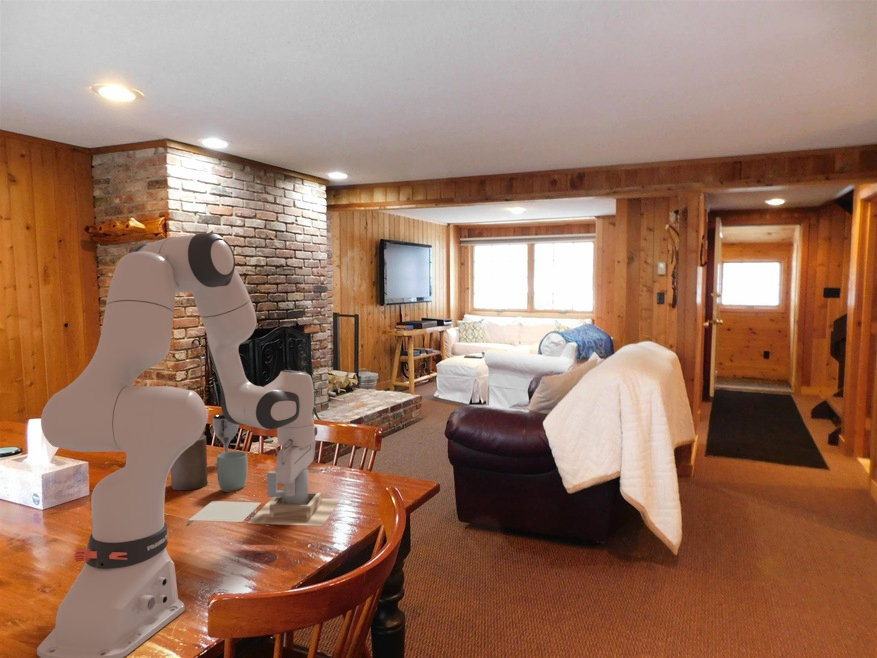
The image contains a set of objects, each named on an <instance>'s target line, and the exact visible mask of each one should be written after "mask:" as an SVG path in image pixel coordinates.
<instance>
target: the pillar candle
mask: <svg viewBox="0 0 877 658" xmlns="http://www.w3.org/2000/svg"><path fill="white" fill-rule="evenodd" d="M207 451H208V450H207V435H205V434H202V435H201V436H200V438H199V439H198V440H197V441H196V442H195V443H194V444H193V445H192V446H190V447H189V448H187V449H186V450H185V451H184V452H183V453H182V454H181V455H180V456H179V457H178V459H177V460H176V461H175V463H174V464H173V466H172V468H171V470H170V482H171V483H170V486H171V488H172V489H173V490H175V491H191V490H196V489H201V488H203V487H206V486H207V485H208V484H209V482H208V461H207V460H208V454H207Z"/></svg>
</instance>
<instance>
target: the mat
mask: <svg viewBox="0 0 877 658" xmlns="http://www.w3.org/2000/svg"><path fill="white" fill-rule="evenodd" d="M261 504H262V502H258V501H257V502H256V501H255V502H253V501H251V502H250V501H226V500H225V501H224V500H222V501H220V500H212V501H210V502H209V503H208V504H206V505H205V506H204V507H203V508H202V509H200V510H199V511H197V513H195V514H194V515H193V516H192V517H190V518H189V519H188V520H187V525H191V524H192V523H193V522H195V521H197V522H199V521H200V522H226V523H227V522H228V523H243V522H244V521H245V520H246V518H247V517H248V516H250V515H251V514H252V513H253V512H254V511H255V510H256V509H257V508H258V507H259V506H260V505H261Z"/></svg>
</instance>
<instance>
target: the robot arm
mask: <svg viewBox="0 0 877 658" xmlns="http://www.w3.org/2000/svg"><path fill="white" fill-rule="evenodd" d="M235 258H236V257H235V253H234V251H233V249H232V247H231V245H230V244H229V242H228V241H227V240H225V238H224V237H222V236H221V235H219V234H217V233H211V232H210V233H209V232H199V233H197V234H192V235H191V234H190V235H181V236H171V237H167V238H163V239H160V240H155V241H154V242H148V243H147V242H146V243H143V244H141V245H139V246H137V247H135V248H133V249H132V250H131V251H130V252H129V253H127V254H125V255H123V256H122V257H121V258H120V259H119V261H118V263H117V264H116V266H115V267H116V268H115V269H114V272H113V276H112V278H111V282H110V285H109V288H108V292H107V297H106V304H105V308H104V309H105V310H104V316H103V322H102V327H101V331H100V335H99V336H100V337H99V340H98V344H97V347H96V350H95V352H94V354H93V356H92V358H91V360H90V362H89V363H88V365H87V366H86V367H85V368H84V370H83V371H82V373H80V374H79V376H78V377H77V378H75V380H73V381H72V382H71V383H70V384H69V385H66V387H64V388H62V389H61V390H59V391H57V392H55V393H54V394H53V395H52V396H51V397H50V398H49V399H48V401H47V402H46V404H45V406H44V408H43V410H42V412H41V419H40V426H41V430H42V434H43V436H44V438H45V439H46V441H47V442H48V443H49V444H50V445H51V447H55V448H58V449H64V450H67V451H73V452H79V453H93V452H95V453H100V452H101V453H102V452H103V453H104V452H105V453H106V452H108V453H109V452H111V453H112V452H123V453H126V461H125V462H126V463H125V466H124V467H122V468H120V469H119V468H118V469H117V470H116V471H114V472H112V473H111V472H110V474H108V475H106V476H105V477H103V478H102V479H101V480H100V481H98V482H97V484H96V485H95V486H94V489H93V490H92V493H91V497H90V498H91V500H90V501H91V534H90V536H89V538H88V543H87V546H86V548H81V547H80V548H77V549H76V550H75V553H74V556H73V558H74V559H73V560H74V561H75V562H79V563H80V562H84V565H83V567H82V569H81V570H80V572H79V574H78V575H77V576H76V578H75V580H74V582H73V584H71V586H70V588H69V590H68V591H67V593H66V595H65V596H64V598H63V600H62V601H61V603H60V604H59V607H58V608H57V610H56V617H55V618H56V619H55V627H54V628H53V629H52V631H51V632H50V633H49V634H47V636H46V638H44V639H43V641H42V642H41V643H40V644H39V645H38V647H37V648H36V655H37V656H38V657H39V658H125V657H127V655H129V654H130V653H132V652H133V651H134V650H135V649H137V648H138V647H139V646H141V645H142V644H143V643H144V642H146V641H147V640H148V639H149V638H151V637H152V636H154V635H155V634H157V633H158V632H159V631H160V630H161V629H163V628H164V627H166V626H167V625H168V624H169V623H171V622H172V621H173V620H175V619H176V618H177V617H178V616H180V615H181V614H182V613H183V612H184V611H186V607H185V603H184V601H182V600H180V599H179V594H178V588H177V586H178V585H177V576H176V567H175V563H174V561H173V560H172V558H171V556H170V555H169V553H168V550H167V547H168V542H169V540H168V539H169V530H168V524H167V522H166V521H165V499H166V498H165V497H166V486H167V480H168V477H169V476H170V475H169V474H170V473H171V468H172V466H173V464H174V463H175V461H176V460H177V459H178V457H179V456H180V455H181V454H182V453H183V452H184V451H185V450H186V449H187V448H189V447H190V446H192V445H193V444H194V443H195V442H196V441H197V440H198V439H199V438H200V436H201V435H203V433H204V431H205V428H206V425H207V421H208V415H207V414H208V411H207V408H206V405H205V403H204V400H203V399H202V397H201V396H200V395H199V394H198V393H197V392H196V391H194V390H192V389H186V388H181V387H175V386H169V385H158V386H157V385H155V386H153V385H150V386H149V385H145V386H144V385H143V386H141V385H139V386H134V383H135V381H136V380H137V379H138V377H140V375H141V374H143V372H145V371H147V370H148V369H152V367H155V366H157V365H159V364H160V363H161V362H163V361H164V360H165V359H166V358H167V356H168V354H169V353H170V351H171V344H172V343H171V341H172V333H173V325H174V315H175V301H176V299H175V298H176V297H175V296H176V295H175V294H178V293H179V294H181V293H182V294H183V293H184V294H185V293H186V294H187V293H191V294H192V296H193V298H194V303H195V306H196V308H197V312H198V313H199V316H200V319H201V321H202V323H203V327H204V329H205V333H206V344H207V349H208V352H209V356H210V360H211V362H212V365H213V370H214V372H215V376H216V379H217V383H218V385H219V391H220V407H221V408H220V409H221V412H222V414H223V415H224V416H225V418H226V419H227V420H228V421H229V422H231V423H233V424H238V425H239V426H240V425H241V426H247V427H248V426H249V427H253V428H257V429H262V430H275V429H277V430H276V431H277V444H278V445H279V446H281V447H282V448H281V449H280V450H279V451H278V452H277V455H276V464H275V465H276V466H275V467H276V470H275V471H276V481H277V483H278V484H281V485H284V484H285V485H286V488H287V496H294V495H295V494H296V487H295V483H294V482H295V479H296V478H297V477H298V476H299V475H300V474H301V473H302V471H303V470H304V469H305V468H307V469H308V467H309V465H311V464H312V463H313V461H314V458H315V454H316V436H317V435H318V426H315V420H314V419H315V418H314V416H313V413H314V412H313V411H314V408H315V391H314V390H315V389H314V383H313V382H314V381H313V379H312V376H311V375H310V374H309V373H308V372H305V371H299V370H292V369H291V370H290V369H283V370H281V371H280V373H279V374H278V376H277V377H275V379H274V380H273V381H271V382H269V383H268V384H266V385H264V386H261V385H255V384H253V383H252V382H250V381H249V379H248V378H247V376H246V374H245V373H246V372H245V370H244V367H243V364H242V359H241V356H240V354H239V353H240V352H239V347H240V345H241V344H242V343H244V342H245V341H247V340H248V339H249V338H250V337H251V336H252V335H253V334H254V331H255V330H256V328H257V327H256V326H257V324H258V323H257V314H256V311H255V307H254V305H253V302H252V299H251V297H250V294H249V292H248V289H247V287H246V285H245V283H244V281H243V280H242V278H241V276H240V273H239V272H238V270H237V269H236V259H235Z"/></svg>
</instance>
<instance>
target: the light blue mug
mask: <svg viewBox="0 0 877 658" xmlns="http://www.w3.org/2000/svg"><path fill="white" fill-rule="evenodd" d="M309 472H310V471H309V469H308V467H307V468H305V469H304V470H303V471H302V473H301V474H300V475H299V476H298V477H297V478H296V479H295V482H294V483H295V487H296V494H295V495H294V496H287V488H286V485H285V484H283V490H282V489H279V488H278V484H279V483H277V481H276V470H269V471H268V472H267V474H266V475H267V481H266V482H267V498H273V497H284V504H298V505H308V504H309V492H310V490H309V488H310V487H309V485H310V484H309V483H310V481H309V479H310V478H309V477H310V476H309Z"/></svg>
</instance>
